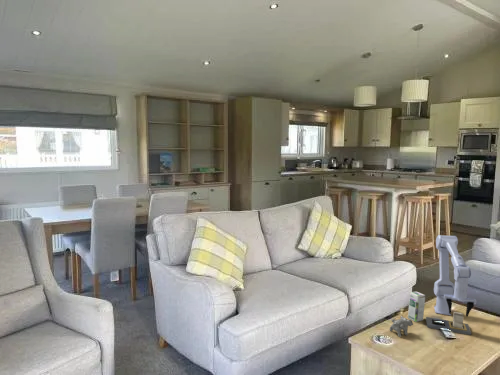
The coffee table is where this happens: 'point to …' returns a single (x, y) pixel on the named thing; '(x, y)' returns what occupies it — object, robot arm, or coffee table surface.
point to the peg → (457, 320)
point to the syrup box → (416, 306)
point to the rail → (448, 326)
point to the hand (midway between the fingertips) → (458, 314)
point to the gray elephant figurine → (401, 325)
